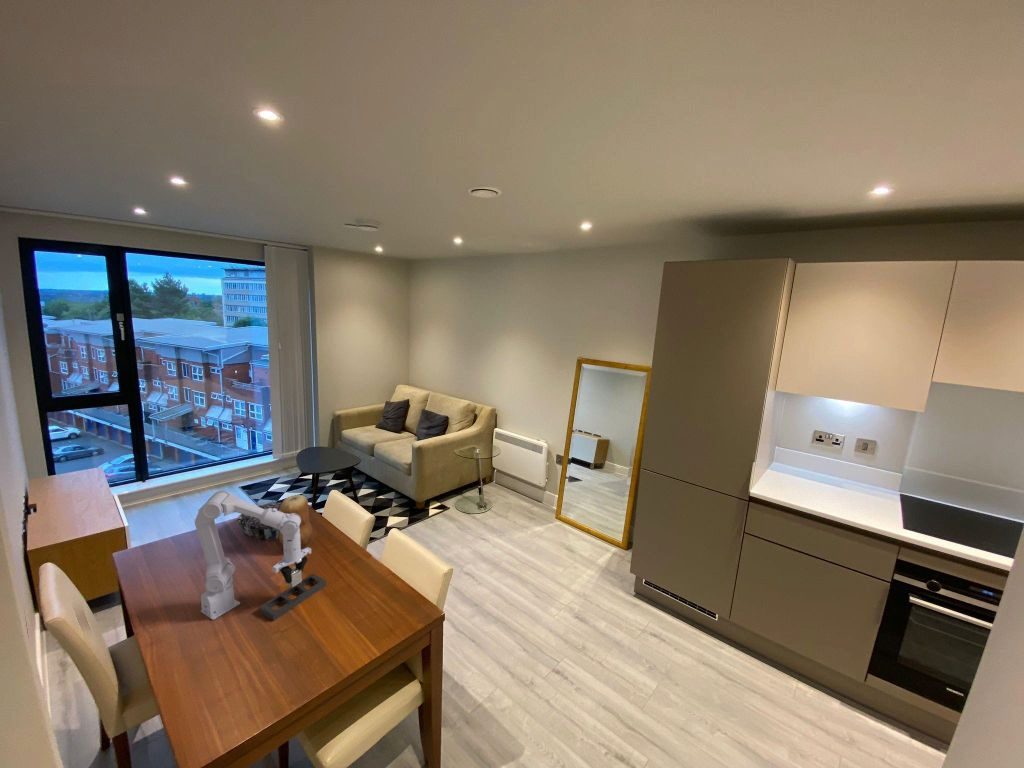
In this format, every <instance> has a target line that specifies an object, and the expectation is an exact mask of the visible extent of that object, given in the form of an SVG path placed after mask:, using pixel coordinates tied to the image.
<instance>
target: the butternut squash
mask: <svg viewBox="0 0 1024 768" xmlns="http://www.w3.org/2000/svg"><path fill="white" fill-rule="evenodd" d="M281 503H282V504H281V507H280V512H283V513H285V514H291V513H296V514H297V515H299V516H300V518H301V523H300V525H299V528H300V542H301V549H302V548H305V547H306V546H308V544H309V543H310V541H311V540H312V538H313V533H314V532H313V527H312V524H311V522H310V513H309V512H310V510H309V509H310V508H309V501H308V499H307V498H306V497H305V496H304V495H301V494H294V495H291V496H287V497H285V499H284V500H282V502H281ZM278 540H279V544H280V545H281V546H282V547H283V534H282V533H281V532H280V535H279V539H278Z"/></svg>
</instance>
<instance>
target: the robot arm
mask: <svg viewBox="0 0 1024 768" xmlns="http://www.w3.org/2000/svg"><path fill="white" fill-rule="evenodd" d="M234 513H238V514H244V515H248V516H251V517H255V518H258V519H259V520H260V522H261V523H262V524H265V525H268V526H270V527H273V528H276V529H279V530H280V532H281V533H282V534H283V546H282V548H283V558H281V559H280V561H278V562H277V563H276V564H275V565H273V566H272V572H273V573H275V574H277V573H279V572H280V573H281V574H282V576H283V578H284V583H285V582H287V583H288V584H289V583H291V572H292V568H293V567H292V568H291V567H290V566H291V565H293V564H295V565H294V566H295V567H297V568H299V569H301V573H302V574H303V572H304V568H305V566H306V564H307V562H308V557H306V555H310V554H312V548H311V547H308V546H307V547H306V548H305V547H304V548H303V549H302V548H301V542H300V528H299V525H300V523H301V518H300V516H299V515H297V514H296V513H291V514H285V513H283V512H280V511H277V509H276V508H273V509H272V508H268V509H262V508H260V507H257V505H255V504H252V503H250V502H249V501H246V500H244V499H241V498H239V497H238V496H237V495H236V494H235V493H230V492H229V491H225V490H218V491H217V492H214V494H212V495H211V496H210V498H209V499H208V500H207V501H206V502H205V503H204V504H203V505H202V506H201V507H200V508H199V509H198V513H197V515H196V517H195V519H194V525H195V528H196V532H197V535H198V538H199V539H198V540H199V542H200V546H201V549H202V552H203V555H204V559H205V562H206V565H207V568H206V573H205V579H206V580H205V584H204V586H205V587H204V588H205V589H206V591H205V592H204V593H202V594H201V595H200V604H201V605H200V606H201V610H200V613H202V614H203V615H205V616H206V617H208V618H209V619H211V620H212V621H213V620H215V619H217V618H219V617H220V616H222V615H224V614H226V613H228V612H229V611H231V610H233V609H234V608H237V606H239V605H240V604H241V602H240V601H238V600H237V599H236V598H235V592H234V580H233V576H232V575H233V574H234V573H235V570H236V568H235V565H234V564H233V563H232V562H231V560H230V558H229V557H225V556H226V555H225V553H224V548H223V546H222V542H221V539H220V536H219V531H218V528H217V525H216V521H215V520H217V519H218V518H219V517H220V516H222V514H223V517H226V516H229V515H232V514H234ZM277 527H278V528H277Z"/></svg>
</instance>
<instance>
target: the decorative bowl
mask: <svg viewBox="0 0 1024 768" xmlns="http://www.w3.org/2000/svg"><path fill="white" fill-rule="evenodd" d="M281 504H282V502H272V503H265V504H261V505H258V506H257V505H256V506H257V507H260V508H262V509H268V508H272V509H273V508H276V509H277V511H280V507H281ZM236 523H238V524H239V527H241V530H242V531H243V534H245V535H246V536H247V537H250V539H255V540H257V541H258V542H264V541H271V540H277V539H278V538H279V535H280V530H279V529H276V528H273V527H270V526H268V525H265V524H262V523H261V522H260V520H259V519H258V518H255V517H251V516H248V515H244V514H241V513H239V515H238V517H237V519H236ZM277 528H278V527H277Z"/></svg>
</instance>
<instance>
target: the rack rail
mask: <svg viewBox="0 0 1024 768" xmlns="http://www.w3.org/2000/svg"><path fill="white" fill-rule="evenodd" d="M309 584H313V586H311V587H309V588H305V587H306V586H309ZM304 586H305V587H304ZM325 587H327V580H326V579H324V578H322V577H320V576H319V575H317V574H314V573H311V574H309V575H308V576H306V577H305V578H303V579H302V582H300V583H299V584H297V585H296V586H294V587H290V586H289V587H288V588H287V589H286V590H284V591H282V592H280V593H279V594H277V595H276V596H274V597H272V598H271V599H270V600H268V601H266V602H265V603H263V604H261V605H260V606H259V613H260V614H262V615H263V616H264V617H267V618H268V619H269V620H271V621H273V622H275V621H276V620H278V619H279V618H280V617H282V616H283V615H285V614H286V613H288V612H289V611H290V610H292V609H293V608H295V607H297V606H299V605H300V604H301V603H302V602H305V600H307V599H309V598H310V597H311V596H313V595H315V593H316V594H317V593H318V592H319V591H321V590H322V589H323V588H325ZM295 593H298V594H299V595H297V596H295V597H294V598H293V599H292V598H291V597H290V596H292V595H294V594H295ZM279 603H282V604H283V605H282V606H281V607H279V608H277V609H275V608H273V607H275V606H277V605H278V604H279Z"/></svg>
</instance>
